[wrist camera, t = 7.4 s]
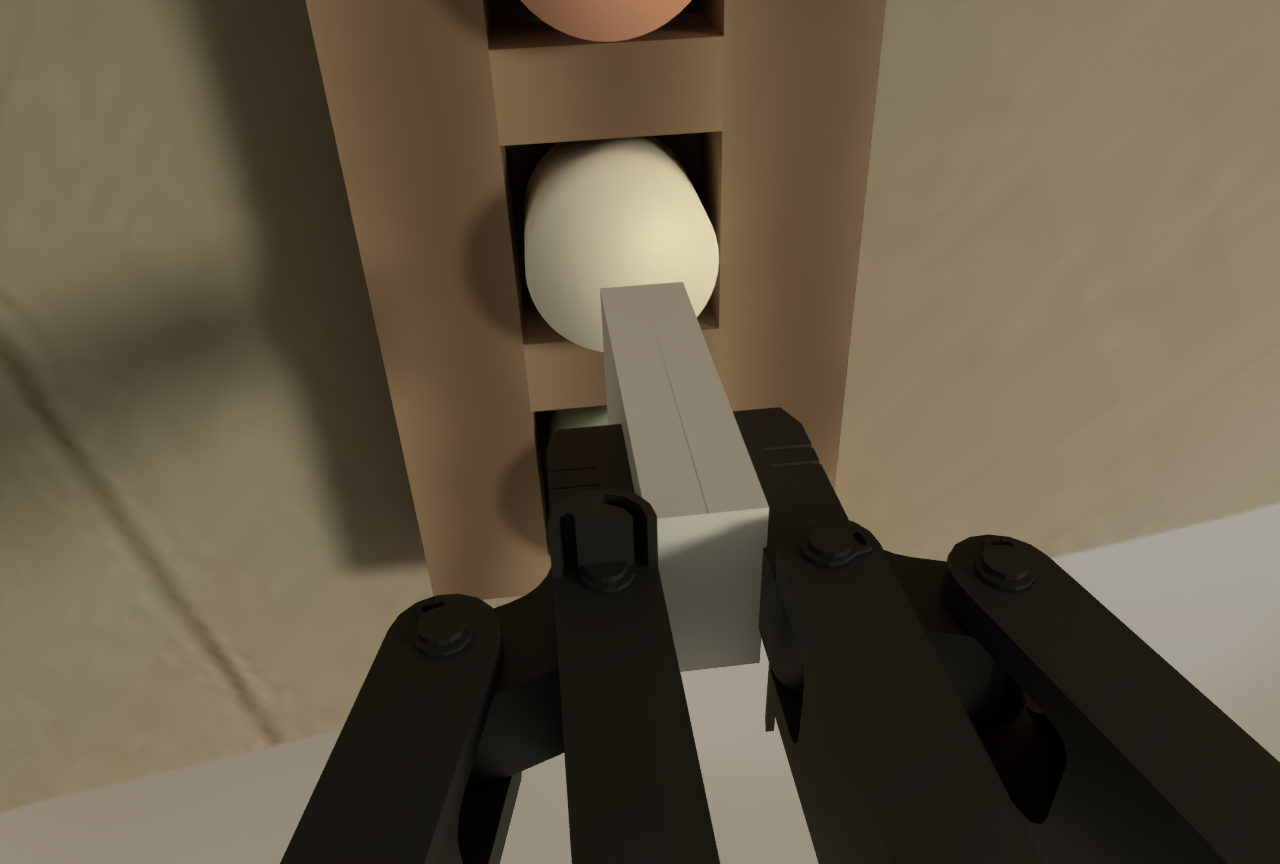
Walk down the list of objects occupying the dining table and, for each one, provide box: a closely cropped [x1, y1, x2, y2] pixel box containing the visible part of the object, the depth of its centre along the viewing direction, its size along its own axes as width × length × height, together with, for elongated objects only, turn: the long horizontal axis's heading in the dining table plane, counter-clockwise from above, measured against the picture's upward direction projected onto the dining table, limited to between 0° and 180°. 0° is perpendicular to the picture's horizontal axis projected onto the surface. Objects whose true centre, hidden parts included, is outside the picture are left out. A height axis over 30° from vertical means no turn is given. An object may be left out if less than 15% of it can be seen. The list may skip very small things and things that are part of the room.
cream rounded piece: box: [524, 136, 719, 352], centre depth 22 cm, size 4×4×4 cm
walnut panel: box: [305, 0, 886, 600], centre depth 23 cm, size 12×22×3 cm, turn 2°
